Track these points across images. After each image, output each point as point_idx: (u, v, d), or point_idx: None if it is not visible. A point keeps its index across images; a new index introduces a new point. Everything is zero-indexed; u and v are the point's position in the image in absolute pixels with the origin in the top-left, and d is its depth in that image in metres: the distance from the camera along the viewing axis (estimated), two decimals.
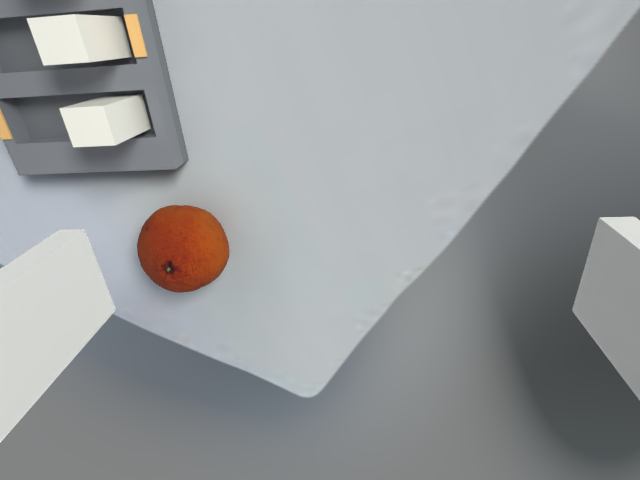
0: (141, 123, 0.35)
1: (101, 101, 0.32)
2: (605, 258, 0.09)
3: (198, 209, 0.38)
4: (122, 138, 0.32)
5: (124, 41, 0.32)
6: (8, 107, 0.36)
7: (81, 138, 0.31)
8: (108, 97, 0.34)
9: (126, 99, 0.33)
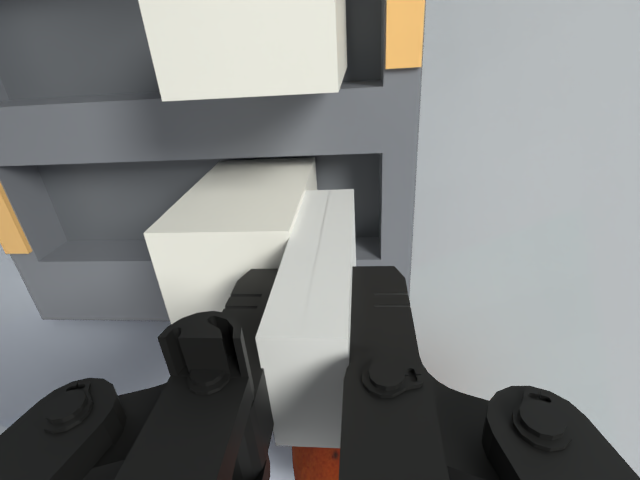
0: None
1: (245, 192, 0.12)
2: None
3: None
4: None
5: (345, 24, 0.12)
6: (21, 182, 0.15)
7: (200, 310, 0.11)
8: (239, 167, 0.14)
9: (305, 183, 0.12)
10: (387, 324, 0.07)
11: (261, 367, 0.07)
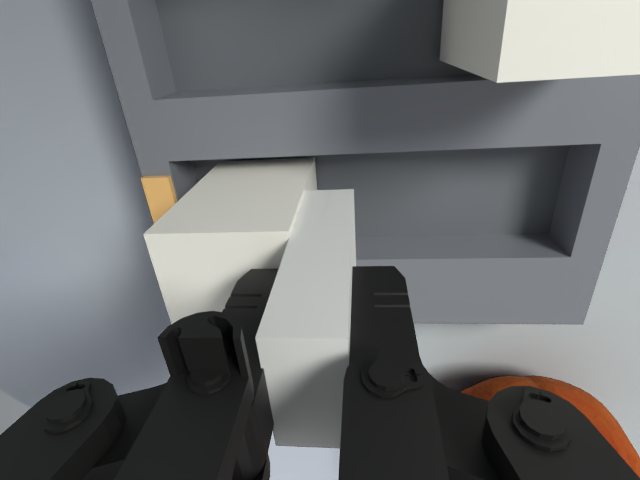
0: None
1: (244, 192, 0.12)
2: None
3: (586, 396, 0.17)
4: None
5: None
6: (183, 178, 0.15)
7: (201, 310, 0.11)
8: (239, 168, 0.14)
9: (305, 183, 0.12)
10: (387, 324, 0.07)
11: (261, 367, 0.07)
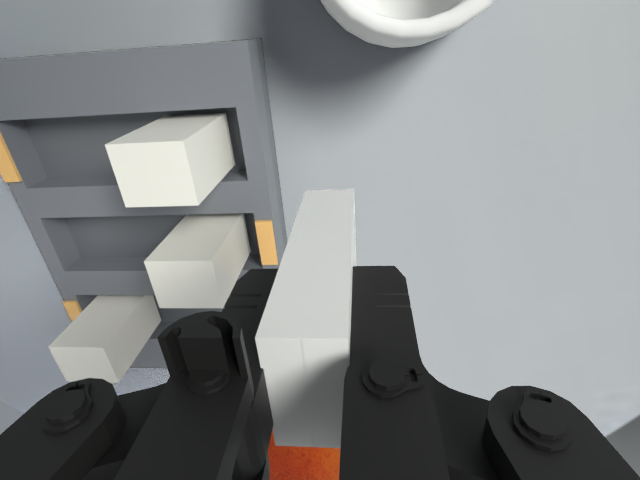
0: (150, 325, 0.28)
1: (101, 318, 0.26)
2: None
3: None
4: (128, 364, 0.26)
5: (245, 239, 0.25)
6: (86, 298, 0.29)
7: (76, 374, 0.25)
8: (109, 296, 0.28)
9: (132, 311, 0.26)
10: (387, 325, 0.07)
11: (261, 367, 0.07)
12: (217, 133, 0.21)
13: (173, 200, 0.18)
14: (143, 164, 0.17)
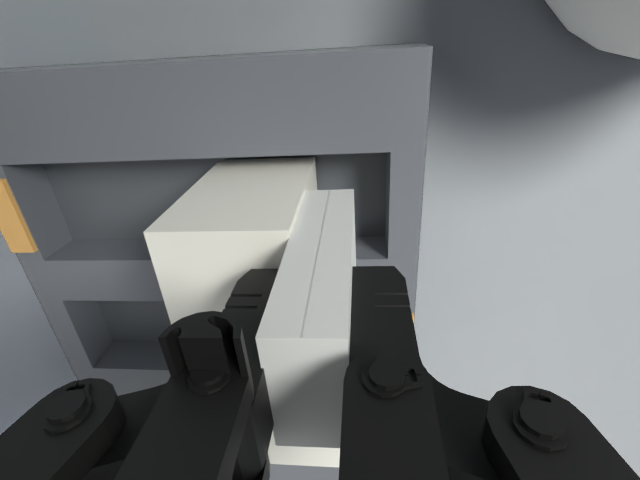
0: None
1: None
2: None
3: None
4: None
5: None
6: None
7: None
8: None
9: None
10: (387, 325, 0.07)
11: (261, 367, 0.07)
12: None
13: None
14: (210, 266, 0.10)
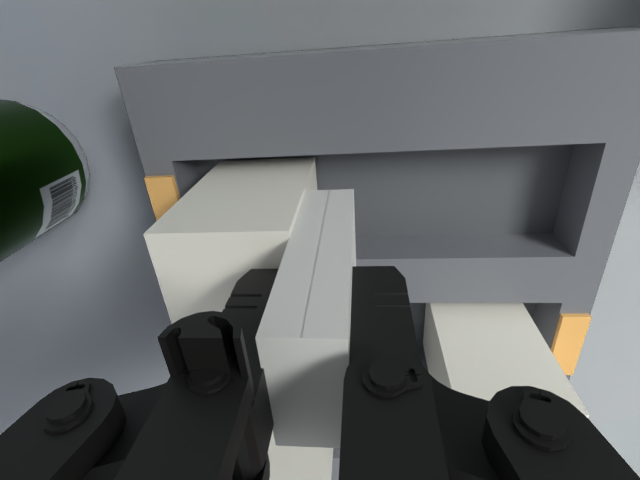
0: None
1: (287, 448, 0.17)
2: None
3: None
4: None
5: None
6: None
7: None
8: None
9: None
10: (387, 325, 0.07)
11: (261, 367, 0.07)
12: None
13: None
14: (210, 267, 0.10)
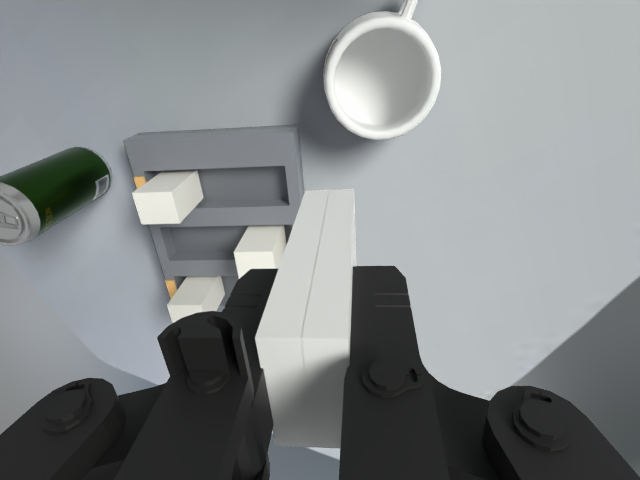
0: (220, 296, 0.44)
1: (194, 290, 0.41)
2: None
3: None
4: None
5: (284, 240, 0.41)
6: (178, 279, 0.44)
7: None
8: (195, 277, 0.44)
9: (212, 285, 0.42)
10: (387, 324, 0.07)
11: (261, 367, 0.07)
12: (191, 182, 0.37)
13: (166, 220, 0.35)
14: (151, 203, 0.34)
